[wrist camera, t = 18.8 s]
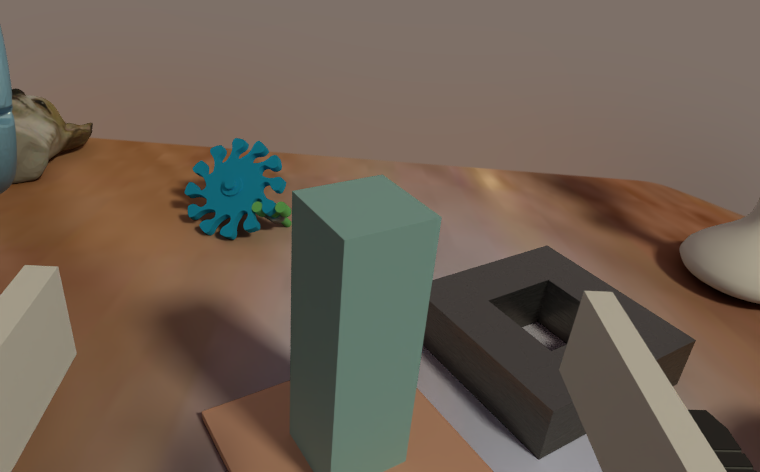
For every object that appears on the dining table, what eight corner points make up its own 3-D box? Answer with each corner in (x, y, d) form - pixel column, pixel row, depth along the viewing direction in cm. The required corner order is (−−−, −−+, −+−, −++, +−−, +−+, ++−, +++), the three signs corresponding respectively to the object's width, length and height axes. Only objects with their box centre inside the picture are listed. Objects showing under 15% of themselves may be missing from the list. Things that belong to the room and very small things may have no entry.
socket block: (407, 329, 47) (413, 286, 45) (537, 284, 54) (547, 245, 52) (538, 459, 37) (553, 411, 35) (677, 383, 44) (695, 340, 42)
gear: (161, 205, 58) (221, 119, 59) (194, 225, 63) (248, 146, 65) (247, 259, 54) (309, 165, 55) (274, 276, 59) (330, 190, 60)
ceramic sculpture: (-78, 103, 56) (-8, 70, 69) (-56, 191, 60) (6, 143, 73) (48, 109, 58) (92, 75, 71) (61, 194, 61) (100, 147, 75)
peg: (289, 433, 37) (292, 191, 29) (361, 404, 39) (382, 174, 31) (329, 497, 33) (344, 240, 25) (405, 461, 35) (441, 217, 28)
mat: (202, 418, 38) (201, 411, 37) (379, 354, 44) (380, 348, 44) (294, 605, 28) (294, 597, 28) (501, 489, 35) (503, 482, 35)
